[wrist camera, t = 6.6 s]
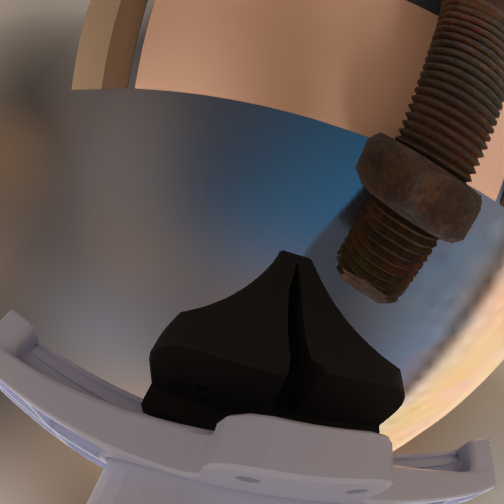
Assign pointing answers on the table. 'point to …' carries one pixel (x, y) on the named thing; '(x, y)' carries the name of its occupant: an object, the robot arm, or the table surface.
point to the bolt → (429, 154)
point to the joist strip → (278, 59)
